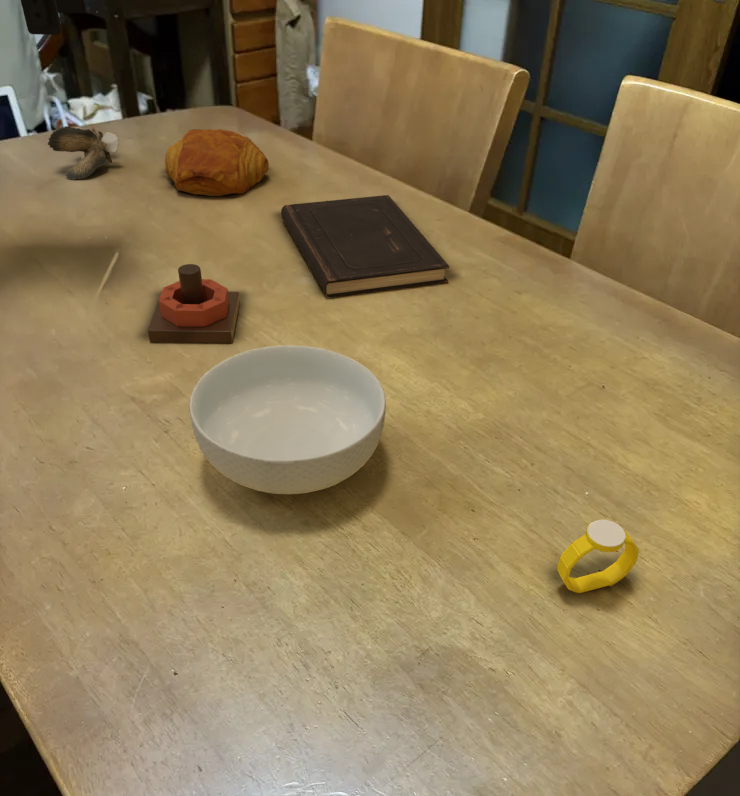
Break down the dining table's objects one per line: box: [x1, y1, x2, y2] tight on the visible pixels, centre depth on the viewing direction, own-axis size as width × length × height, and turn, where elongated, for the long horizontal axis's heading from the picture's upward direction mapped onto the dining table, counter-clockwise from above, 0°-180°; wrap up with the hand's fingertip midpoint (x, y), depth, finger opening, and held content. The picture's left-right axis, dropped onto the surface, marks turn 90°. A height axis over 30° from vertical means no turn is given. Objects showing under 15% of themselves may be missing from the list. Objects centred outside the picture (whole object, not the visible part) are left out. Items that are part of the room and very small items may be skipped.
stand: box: [147, 263, 241, 344], centre depth 84 cm, size 9×9×6 cm
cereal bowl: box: [188, 344, 387, 495], centre depth 66 cm, size 17×17×7 cm
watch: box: [556, 519, 640, 594], centre depth 57 cm, size 6×3×6 cm, turn 105°
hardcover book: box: [280, 194, 450, 299], centre depth 100 cm, size 16×23×2 cm
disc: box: [158, 278, 229, 327], centre depth 84 cm, size 7×7×2 cm
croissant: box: [164, 128, 270, 197], centre depth 114 cm, size 14×16×8 cm
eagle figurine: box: [47, 125, 120, 180], centre depth 116 cm, size 8×7×9 cm
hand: (59, 22), depth 78 cm, fingers open, 9 cm apart
